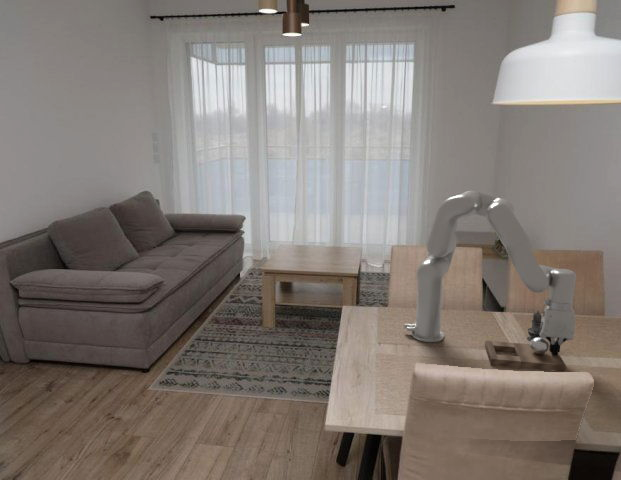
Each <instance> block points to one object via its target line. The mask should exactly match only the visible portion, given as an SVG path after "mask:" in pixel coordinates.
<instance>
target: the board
mask: <svg viewBox="0 0 621 480" xmlns="http://www.w3.org/2000/svg"><path fill="white" fill-rule="evenodd" d="M549 347H550V345H548V350H547V352H545V353H544V354H535V353H534V352H532V350H531V349H530V343H519V342H509V341H495V340H485V341H484V348H485V350H486V354H487V358H488V361H489V364H490V366H493V367H503V368H515V369H527V370H536V369H539V371H547V370H555V371H554V372H558V371H565V372H566V367H567V365H566V363H565V361H564V360H563V358H562V357H561V356H560V354H559V353H558V356H557V355H552V353H551V352H550V351H549ZM497 353H504V354H497ZM505 353H507V354H513V355H506V354H505Z"/></svg>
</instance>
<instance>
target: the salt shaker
mask: <svg viewBox="0 0 621 480" xmlns="http://www.w3.org/2000/svg"><path fill="white" fill-rule="evenodd" d="M532 316H533V317H532V320H531V327H529V328H527V332H528V335H529V336H527V340H528V341H529V342H530V341H531V340H532V339H533V338H536V337H540V335H539V334H540V332H541V321H542V317H543V314H541V313H540V312H539V310H536V312H534V313H533V315H532Z"/></svg>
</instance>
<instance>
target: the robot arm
mask: <svg viewBox="0 0 621 480" xmlns="http://www.w3.org/2000/svg"><path fill="white" fill-rule="evenodd" d="M514 211H515V209H514V205H513V203H511V202H510V201H509V200H508V199H506V198H502V197H498V196H494V195H491V194H488V193H483V192H479V191H477V190H468V191H464V192H462V193H461V194H457V195H455V196H450V197H447V199H445V200H444V201H442V202H441V204H440V205H439V206H438V208H437V211H436V214H435V217H434V221H433V224H432V226H431V230H430V232H429V235H428V239H427V242H426V250H427V253H428V255H427V257H426V258H425V259H424V260H423V261H422V262H421V263H420V264H419V266H418V268H417V271H416V281H417V285H416V286H417V292H416V293H417V295H416V314H415V315H416V316H415V321H414V323H412V324H411V323H404V325H403V329H406V331H407V332H408V331H409V332H410V331H411V337H413V339H415V340H418V341H420V342H424V343H437V342H438V343H439V342H441V341H442V340H443V339H444V338H445V334H444V332H443V331H442V330H441V327H442V325H441V323H442V322H441V321H442V309H443V291H444V290H443V279H444V276H446V274H447V273H448V271H449V270H450V266H451V264H452V260H453V256H454V253H455V252H456V247H457V242H458V240H457V236H456V234H455V233H456V230H457V227H458V223H459V220H461V219H462V218H467V217H471V216H474V215H477V216H479V217H484V218H486V219H487V221H488V223H489V225H490V226H491V227H492V229H493V231H494V233H495V234H496V236H497V237H498V239H499V240H500V242H501V244H502V245H503V247H504V248H505V251H506V254H507V256H508V257H509V260H510V261H511V264H512V266H513V268H514V270H515V271H516V273H517V275H518V277H519V278H520V280H521V281H522V283H523V284H524V286H525V288H527V289H528V291H531V292H533V293H538V294H539V293H544V292H545V291H546V290H547V289H548V288H549V293H548V298H547V299H546V300H543V305H546V306H545V307H544V310H543V313H542V317H541V332H540V334H539V335H540V337H541V338H543V339H545V340H546V341H548V342H549V346H550V347H549V351H550V352H551V353H552V355H557V356H558V354H559V353H560V352H561V346H562V345H563V343H565V342H567V341H572V340H574V337H575V332H576V313H575V309H573V306H574V305H573V304H574V298H575V297H574V296H575V290H576V289H575V288H576V281H577V274H576V273H575V272H574V271H573V270H571V269H568V268H555V267H551V266H548V265H543V264H539V263H538V261H537V258H536V257H535V254H534V252H533V249H532V245H531V241H530V238H529V236H528V234H527V232H526V231H525V229H524V228H523V226H522V225H521V223H520V221H519V220H518V218H517V216H516V215H515V213H514Z"/></svg>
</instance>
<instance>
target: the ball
mask: <svg viewBox="0 0 621 480" xmlns="http://www.w3.org/2000/svg"><path fill="white" fill-rule="evenodd" d="M547 341H548V340H547V339H545V338H542V337H536V338H533V339H532V340H531V341H529V344H530V349H531V350H532V352H534V353H535V354H544V353H545V352H547V350H548V346H549V343H548V342H547Z"/></svg>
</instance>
